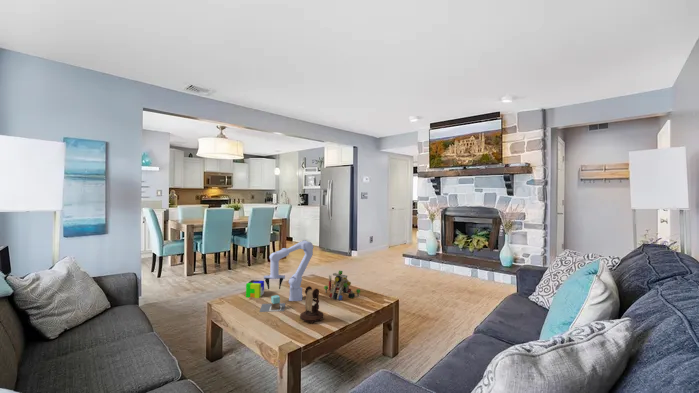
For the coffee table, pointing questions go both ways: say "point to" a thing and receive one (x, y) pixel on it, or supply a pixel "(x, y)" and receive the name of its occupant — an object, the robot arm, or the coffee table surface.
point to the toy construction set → (340, 287)
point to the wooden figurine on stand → (311, 306)
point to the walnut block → (275, 306)
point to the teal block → (275, 299)
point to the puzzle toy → (255, 288)
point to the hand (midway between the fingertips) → (274, 288)
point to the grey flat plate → (268, 308)
